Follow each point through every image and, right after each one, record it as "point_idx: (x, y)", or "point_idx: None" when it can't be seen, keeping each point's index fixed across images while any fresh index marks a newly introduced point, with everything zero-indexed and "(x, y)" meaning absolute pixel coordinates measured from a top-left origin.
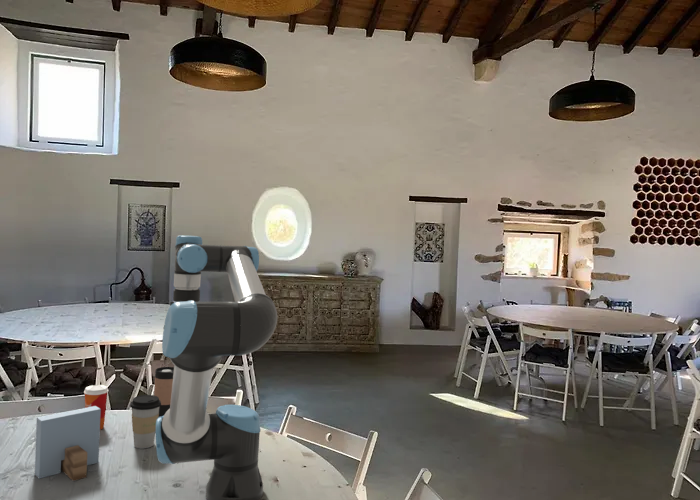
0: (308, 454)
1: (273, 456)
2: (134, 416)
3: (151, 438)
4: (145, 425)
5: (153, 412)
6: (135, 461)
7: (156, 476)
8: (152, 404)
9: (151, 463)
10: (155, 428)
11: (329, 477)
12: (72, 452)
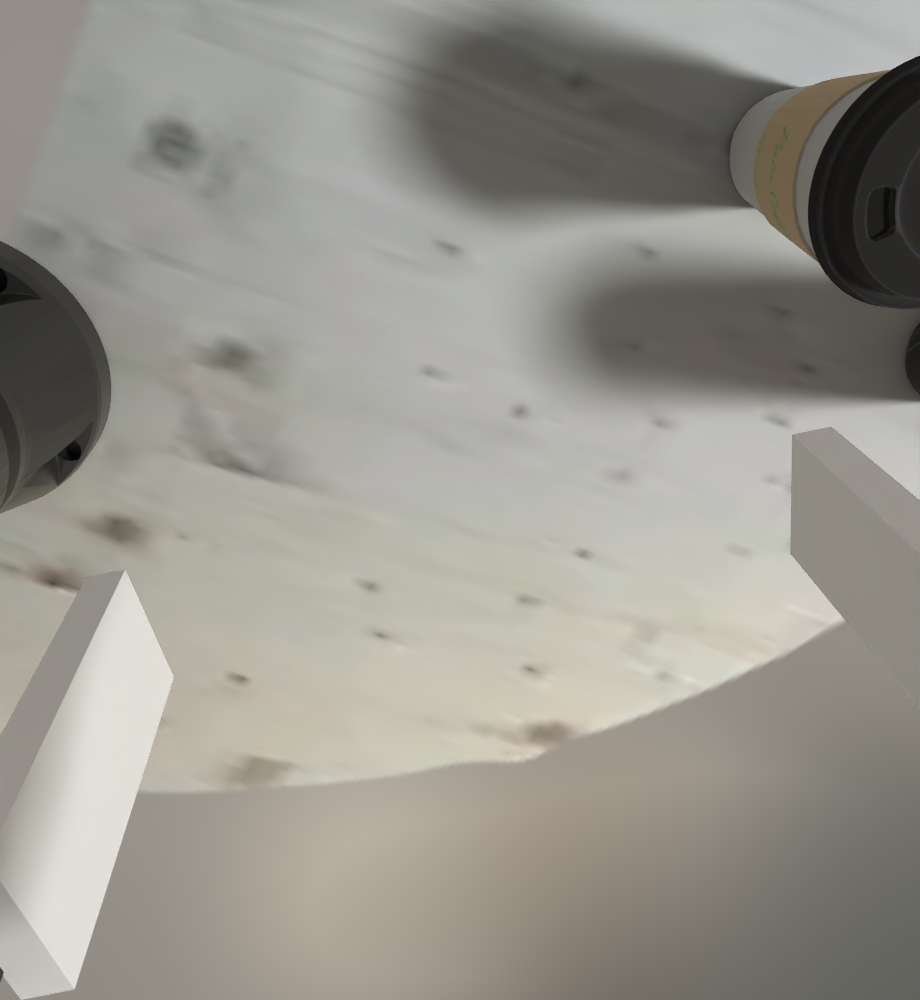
0: (253, 775)
1: (298, 658)
2: (881, 76)
3: (746, 186)
4: (780, 145)
5: (807, 216)
6: (586, 22)
7: (326, 73)
8: (839, 215)
9: (509, 105)
10: (771, 222)
11: None
12: None
